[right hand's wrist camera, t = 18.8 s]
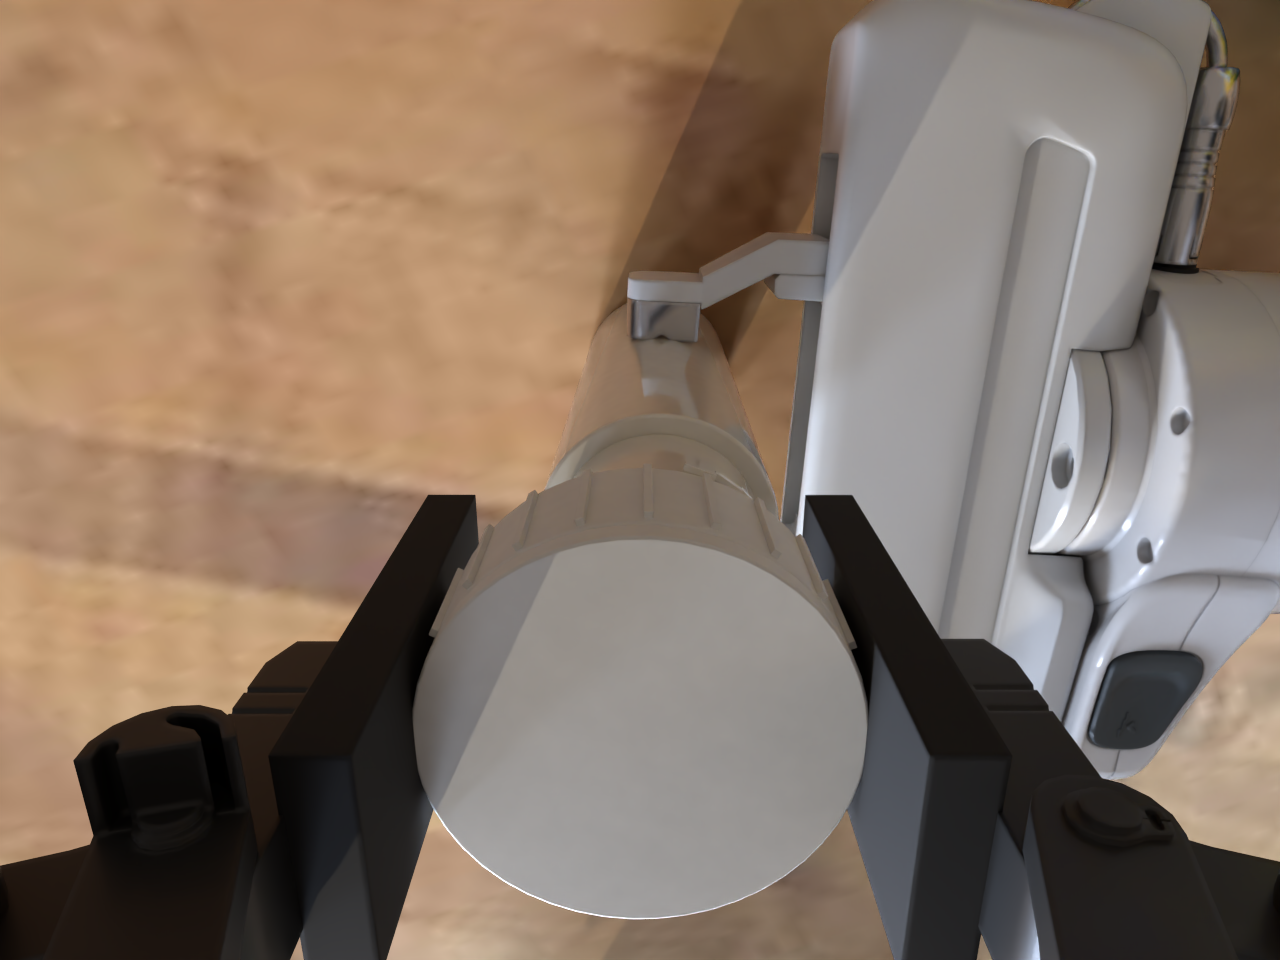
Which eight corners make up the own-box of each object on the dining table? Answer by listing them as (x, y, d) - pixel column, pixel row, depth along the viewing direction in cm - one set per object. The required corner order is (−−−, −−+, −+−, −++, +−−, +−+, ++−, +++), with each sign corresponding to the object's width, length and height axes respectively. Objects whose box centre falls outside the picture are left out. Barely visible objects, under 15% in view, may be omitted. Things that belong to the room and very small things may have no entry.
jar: (695, 447, 30) (736, 726, 15) (570, 404, 29) (491, 651, 15) (744, 323, 28) (840, 503, 14) (613, 276, 28) (571, 411, 13)
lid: (466, 428, 11) (426, 492, 9) (882, 498, 12) (935, 575, 10) (426, 773, 13) (385, 892, 11) (786, 826, 14) (813, 951, 11)
